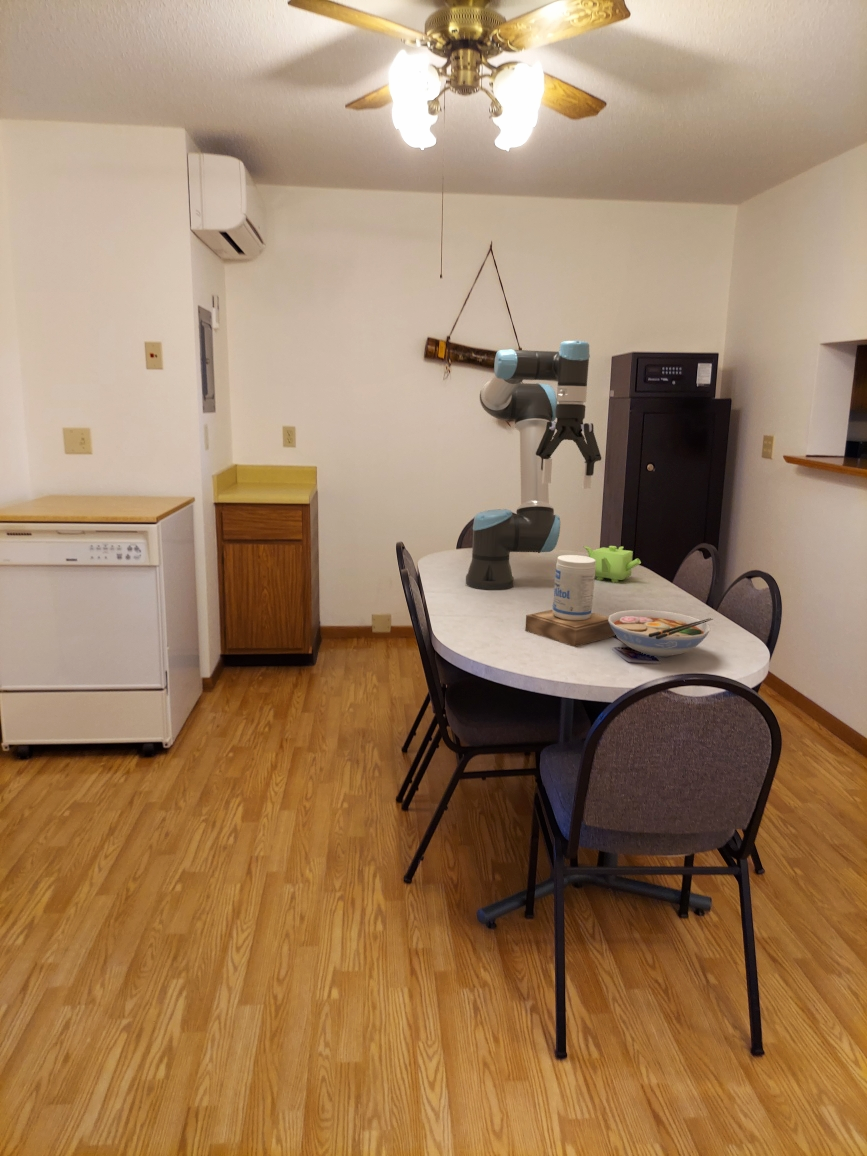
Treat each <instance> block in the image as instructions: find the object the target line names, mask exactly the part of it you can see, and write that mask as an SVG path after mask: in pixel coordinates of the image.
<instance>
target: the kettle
mask: <svg viewBox="0 0 867 1156" xmlns="http://www.w3.org/2000/svg"><path fill="white" fill-rule="evenodd" d="M582 547H583V548H584V549H585V550H586V551H587V553H588V557H590V558H593V559H595V560H596V563H595V565H596V567H595V577H596V579H595V580H596V581H603V580H604V578H606V579H611V583H613V582H614V583H613V584H618V582H619V580H620V581H625V579H626V578H629V577H630V576H631V575H632V569H633V568H635V567H638V566H639V565H640V564H641V563H642V562H641V560H640V559H639V558H635V559H634V560H633V554H634V553H633V552H634V551H633V550H626V549H624V545H623V546H619V547H617V546H616V545H609V546H608V547H600V548H597V549H593V550H592V548H591V547H590V546H582Z"/></svg>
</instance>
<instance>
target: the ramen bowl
mask: <svg viewBox="0 0 867 1156" xmlns="http://www.w3.org/2000/svg"><path fill="white" fill-rule="evenodd" d="M608 617H609V619H608V621H609V624H610V626H611V628H612V630H613V632H614V633H615V635H616V638H617V639H618V640H619V641H621V642H622V643H623V644H624V645H626V646H627V647H628V648H630V649H632V650H634V651H637V652H639V653H640V652H641V653H640V654H642V653H643V654H642V655H644V654H646V655H645V656H647V655H650V656H649V657H651V656H654V657H653V658H660V657H661V658H669V657H672V656H675V655H680V654H681V655H682V654H685V653H687V652H690V651H691V650H692V649H695V648H696V647H697V646H698V645H699V644H700V643H702V642H703V641H704V640H705V638H706V637H707V636H708V634H709V633H710V631H711V627H710V624H708V623H707V622H710V621H712V620H714V618H711V617H710V618H706V619H703V620H702V619H700V618H697V617H693V616H690V615H687V614H682V613H678V612H677V613H675V612H672V611H664V610H653V609H627V610H621V611H620V610H619V611H616V612H614V613H612V614H609V615H608Z"/></svg>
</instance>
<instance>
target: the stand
mask: <svg viewBox="0 0 867 1156" xmlns="http://www.w3.org/2000/svg"><path fill="white" fill-rule="evenodd" d="M608 619H609V616H606V615H602V614H600V613H599V614H598V613H595V612H591V616H590V618H588V619H586V620H579V621H574V620H567V619H561V618H558V617H556V616H555V615H554V614H553V608H552V609H548V610H544V611H540V612H539V611H538V612H535V613H530V614H526V615H525V626H524V628H525V629H524V631H526V632H528V631H529V633H532V634H535V635H538V636H542V637H544V638H547V639H550V640H553V641H556V642H559V643H562V644H566V645H569V646H572V647H578V646H582V645H583V646H584V645H585V644H589V643H594V642H597V641H601V640H604V639H608V637H609V638H612V637H615V633H614V632H613V630H612V628H611V626H610V624H609V621H608Z"/></svg>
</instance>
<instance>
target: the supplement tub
mask: <svg viewBox="0 0 867 1156" xmlns="http://www.w3.org/2000/svg"><path fill="white" fill-rule="evenodd" d="M595 563H596V560H595V559H593V558H590V557H589V556H585V555H580V554H579V555H576V554H564V555H563V554H562V555H559V556H557V560H556V565H555V573H554V574H555V575H554V586H553V599H552V601H553V602H552V609H553V614H554V615H555V616H556V617H558V618H561V619H567V620H574V621H579V620H586V619H588V618H590V616H591V613H592V608H593V599H594V598H593V597H594V588H595V580H596V579H595V577H596V576H595V567H596V565H595Z"/></svg>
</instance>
